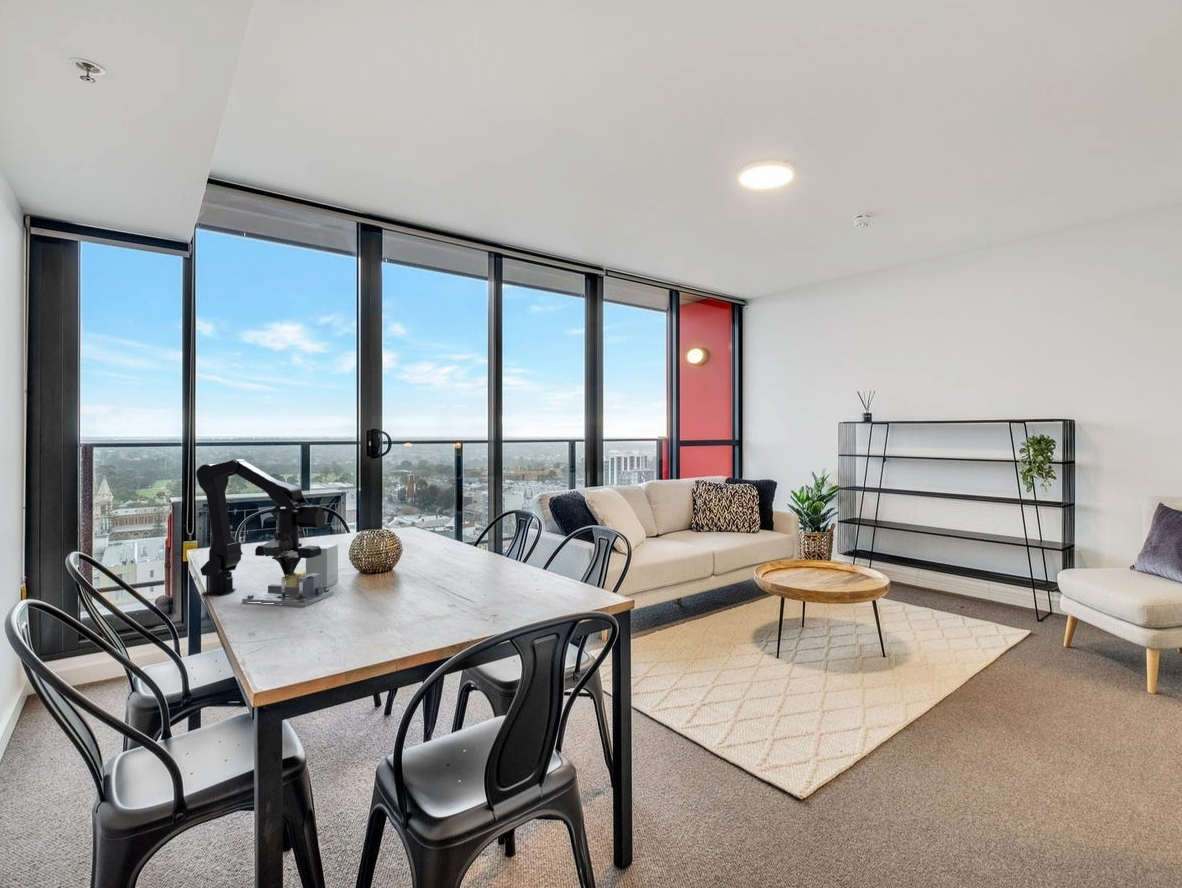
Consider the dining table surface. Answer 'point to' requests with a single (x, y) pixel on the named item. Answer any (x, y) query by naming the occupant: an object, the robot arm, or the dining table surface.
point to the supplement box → (325, 564)
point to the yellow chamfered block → (291, 580)
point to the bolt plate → (286, 600)
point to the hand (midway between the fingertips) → (288, 579)
